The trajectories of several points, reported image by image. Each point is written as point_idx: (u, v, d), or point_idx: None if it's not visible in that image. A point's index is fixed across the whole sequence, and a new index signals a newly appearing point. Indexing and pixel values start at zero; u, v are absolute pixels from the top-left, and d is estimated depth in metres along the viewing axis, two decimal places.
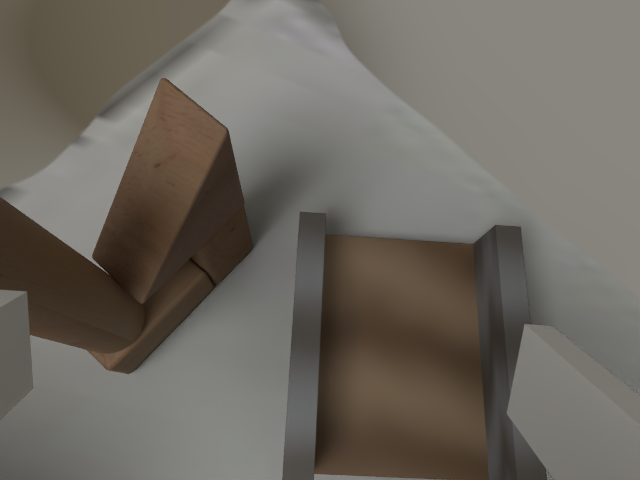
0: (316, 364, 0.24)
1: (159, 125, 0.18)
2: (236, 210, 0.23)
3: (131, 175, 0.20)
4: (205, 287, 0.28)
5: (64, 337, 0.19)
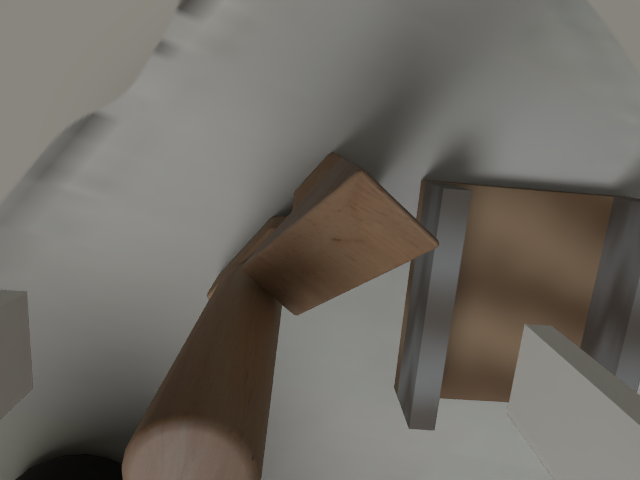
0: (445, 341, 0.26)
1: (346, 211, 0.15)
2: None
3: (300, 234, 0.17)
4: None
5: None
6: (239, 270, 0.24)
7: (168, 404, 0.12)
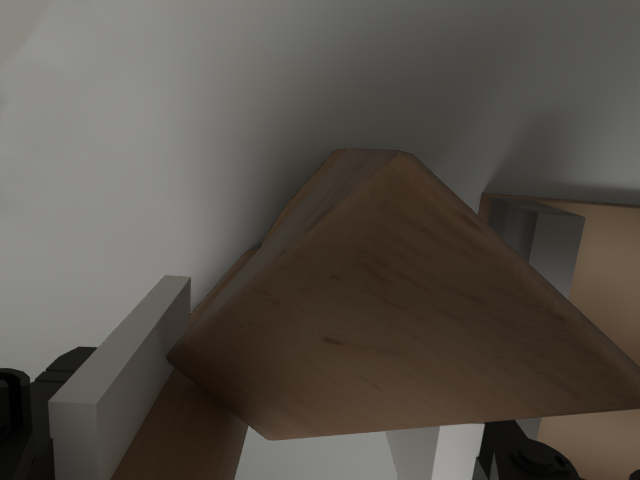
0: None
1: (355, 280, 0.05)
2: None
3: (249, 319, 0.07)
4: None
5: None
6: None
7: None
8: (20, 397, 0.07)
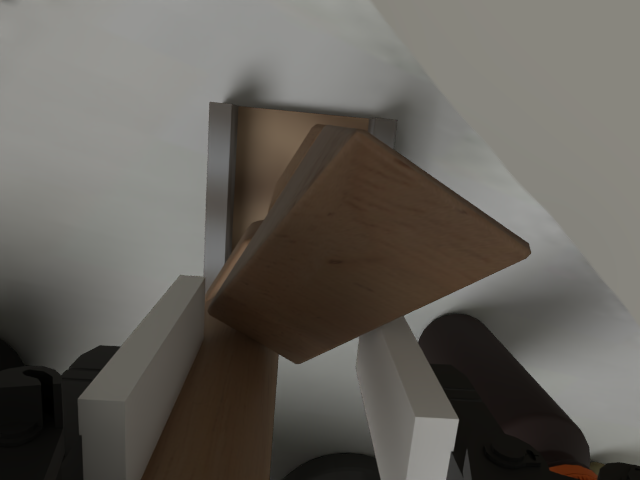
0: (224, 224, 0.34)
1: (344, 213, 0.08)
2: None
3: (274, 259, 0.10)
4: None
5: None
6: None
7: None
8: (52, 395, 0.07)
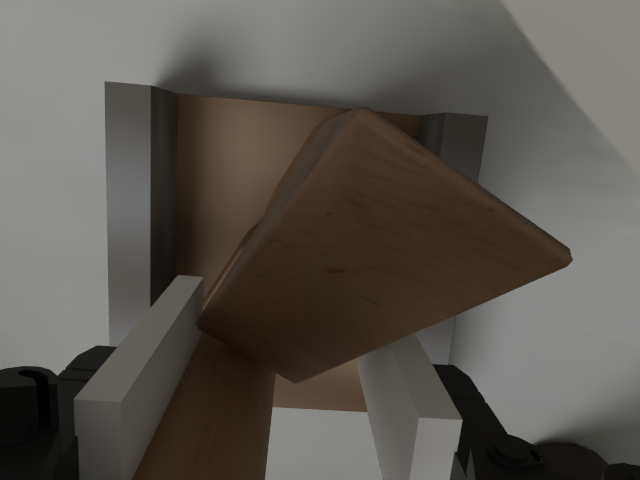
0: None
1: (345, 212, 0.07)
2: None
3: (266, 268, 0.09)
4: None
5: None
6: None
7: None
8: (48, 395, 0.07)
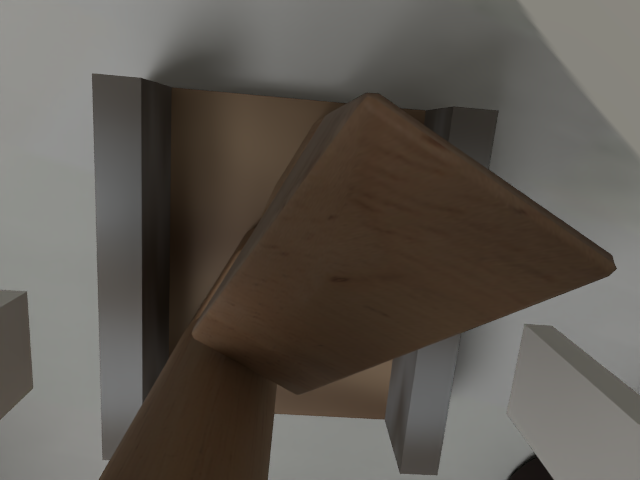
0: (138, 327, 0.17)
1: (350, 216, 0.06)
2: None
3: (263, 276, 0.08)
4: None
5: None
6: None
7: None
8: None
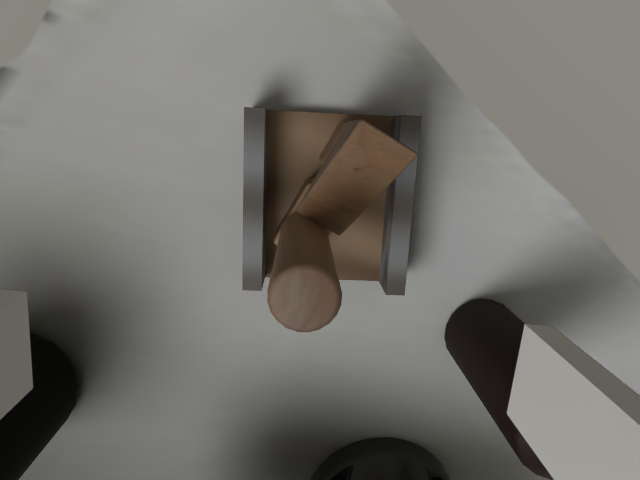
0: (261, 222, 0.36)
1: (358, 148, 0.25)
2: None
3: (332, 172, 0.27)
4: None
5: None
6: (294, 216, 0.34)
7: (284, 265, 0.22)
8: None
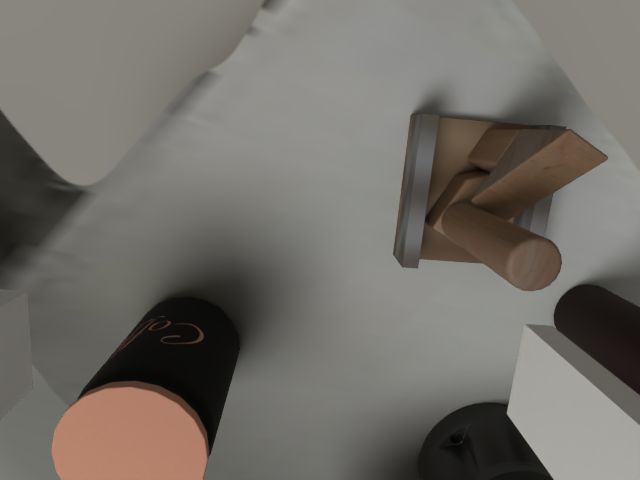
0: (424, 210, 0.42)
1: (557, 151, 0.32)
2: None
3: (523, 170, 0.34)
4: None
5: None
6: (459, 205, 0.41)
7: (518, 238, 0.29)
8: None
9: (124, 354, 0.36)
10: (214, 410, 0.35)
